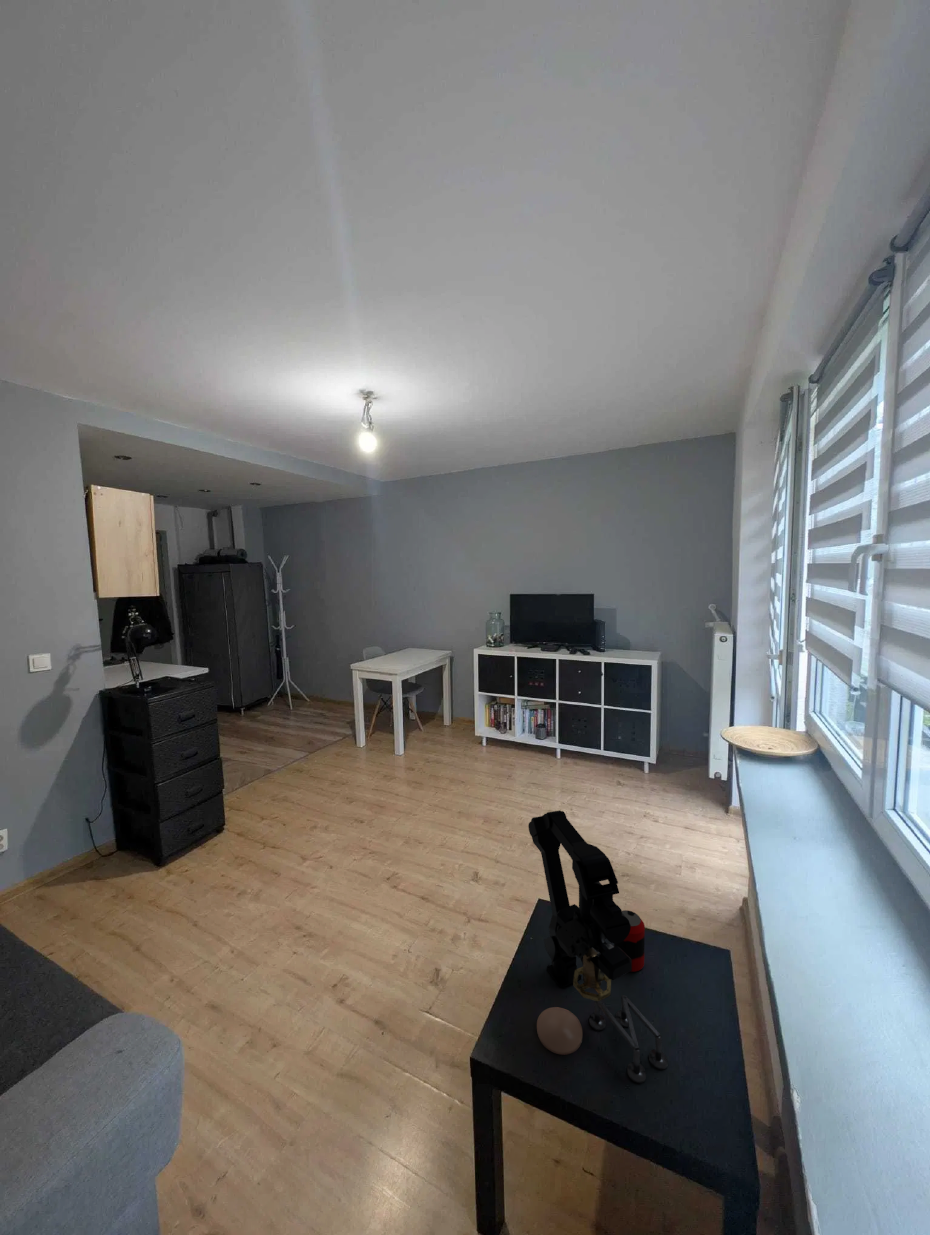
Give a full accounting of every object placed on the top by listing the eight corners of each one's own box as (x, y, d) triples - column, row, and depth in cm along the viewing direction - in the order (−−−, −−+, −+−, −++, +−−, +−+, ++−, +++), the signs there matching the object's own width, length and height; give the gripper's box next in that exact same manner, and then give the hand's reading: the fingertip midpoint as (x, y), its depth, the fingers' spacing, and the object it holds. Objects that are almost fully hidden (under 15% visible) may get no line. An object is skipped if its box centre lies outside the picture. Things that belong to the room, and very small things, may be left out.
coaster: (528, 1021, 107) (528, 1017, 106) (564, 1004, 111) (564, 1000, 111) (553, 1062, 97) (553, 1058, 97) (591, 1042, 102) (591, 1038, 101)
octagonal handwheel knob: (566, 977, 107) (566, 948, 106) (594, 964, 110) (594, 936, 109) (590, 1006, 99) (590, 975, 99) (618, 991, 103) (618, 961, 102)
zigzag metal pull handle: (585, 1019, 107) (585, 995, 106) (618, 1002, 111) (618, 980, 110) (636, 1086, 93) (636, 1059, 92) (671, 1064, 97) (671, 1038, 96)
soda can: (646, 955, 124) (646, 913, 123) (641, 977, 118) (642, 932, 117) (617, 945, 128) (617, 904, 127) (611, 965, 121) (611, 922, 120)
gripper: (537, 894, 108) (538, 956, 109) (591, 952, 91) (591, 1024, 93) (576, 880, 113) (576, 939, 114) (634, 932, 96) (633, 1002, 97)
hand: (591, 973), depth 104 cm, fingers closed on octagonal handwheel knob, 4 cm apart
